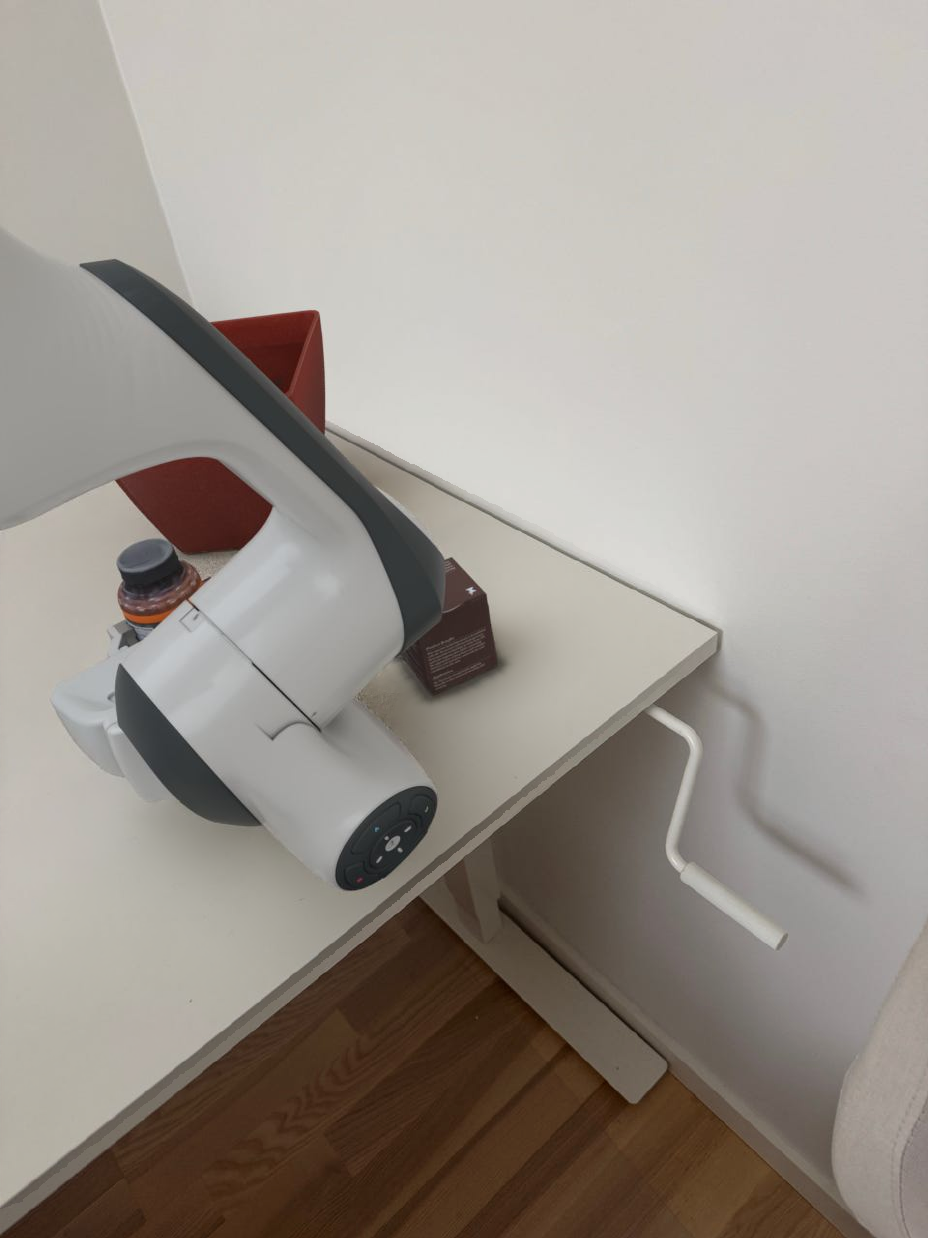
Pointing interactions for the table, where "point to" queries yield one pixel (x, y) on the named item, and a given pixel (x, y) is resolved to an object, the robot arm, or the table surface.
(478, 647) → the box
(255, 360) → the flower pot
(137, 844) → the table surface
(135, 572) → the supplement bottle
